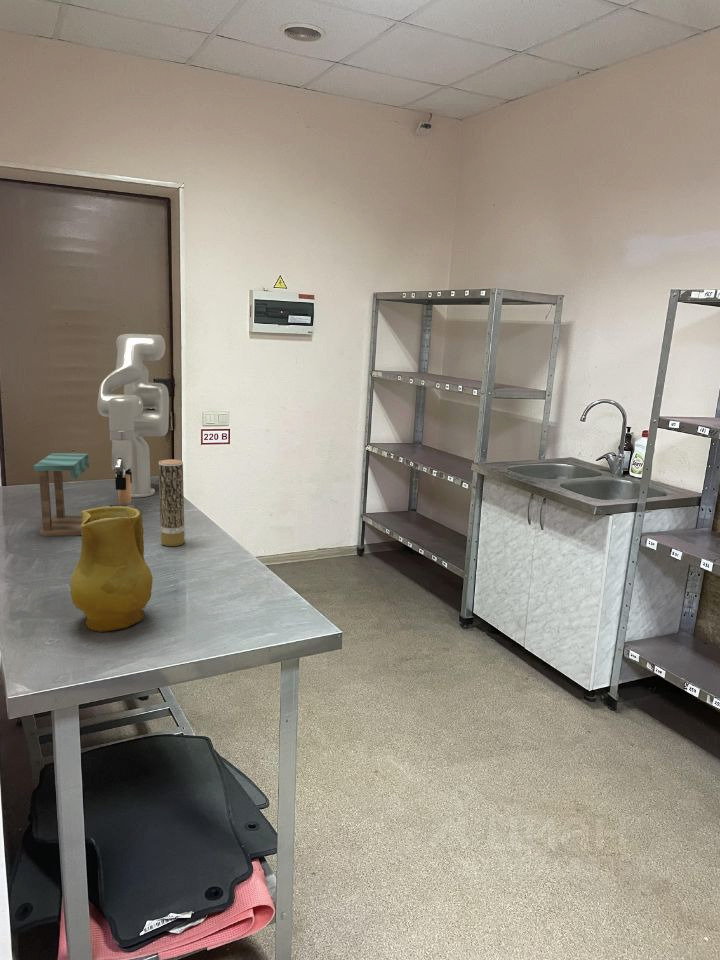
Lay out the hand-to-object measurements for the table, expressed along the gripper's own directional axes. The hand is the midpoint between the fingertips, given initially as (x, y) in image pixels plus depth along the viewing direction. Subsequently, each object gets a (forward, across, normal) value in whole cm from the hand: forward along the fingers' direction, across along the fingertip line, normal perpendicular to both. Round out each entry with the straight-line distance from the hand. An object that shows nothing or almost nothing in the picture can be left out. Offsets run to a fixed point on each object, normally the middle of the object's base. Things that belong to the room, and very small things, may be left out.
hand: (124, 486), depth 225 cm
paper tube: (+11, +28, +19) cm, 36 cm away
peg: (+10, -1, 0) cm, 10 cm away
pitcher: (+13, +80, +13) cm, 82 cm away
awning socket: (+11, +12, -8) cm, 18 cm away
